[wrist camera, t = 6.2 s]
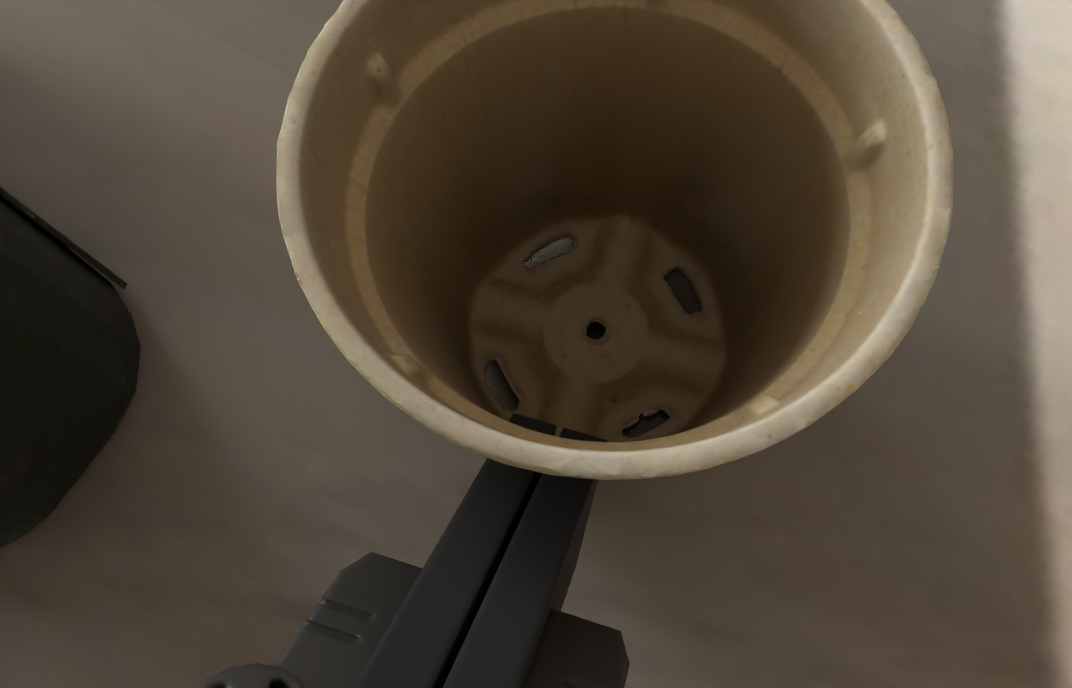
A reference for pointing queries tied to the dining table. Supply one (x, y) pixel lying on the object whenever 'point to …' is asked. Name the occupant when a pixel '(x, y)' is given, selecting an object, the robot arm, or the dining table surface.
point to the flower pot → (616, 215)
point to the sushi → (55, 364)
